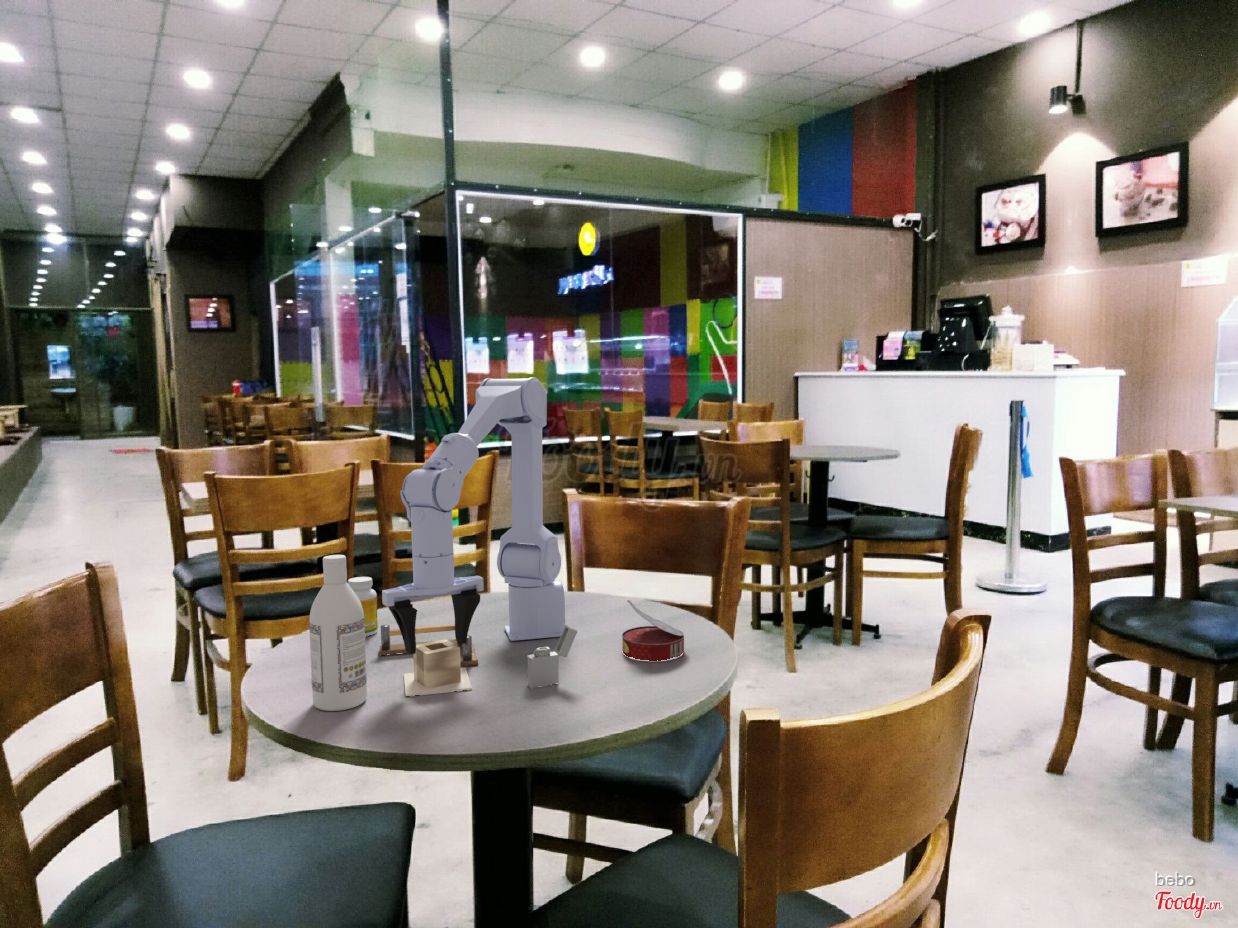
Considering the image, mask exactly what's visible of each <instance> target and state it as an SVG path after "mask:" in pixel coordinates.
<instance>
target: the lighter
mask: <svg viewBox="0 0 1238 928" xmlns="http://www.w3.org/2000/svg"><path fill="white" fill-rule="evenodd" d="M577 634H578V629H576V628H575V627H572V626H570V625H568V624H565V628H564V630H563V633H562V635H561V636H560V637H559V640H558V642H557V644H556V647H555V649H554V651H551V648H550V646H542V647H537V648H535V650H534V651H533V653H532V654H527V656H526V657H527V686H528V685H529V686H530V687H531V688H530V687H529V688H530V689H535V688H534V687H538V686H544V687H549V686H548V685H550V686H552V685H551V684H556V683H559V684H560V681H559V675H560V674H559V656H561V657H565V658H567V657H568V655H569V652H570V650H571V648H572V645H573V644H574V641H575V638H576V636H577ZM538 688H539V687H538Z"/></svg>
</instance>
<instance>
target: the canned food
mask: <svg viewBox="0 0 1238 928" xmlns="http://www.w3.org/2000/svg"><path fill="white" fill-rule="evenodd" d="M627 603H628V604H629V605H630V606H631V607H632V608H633V610H634V611H635V612H636V613H637V614H638V615H639V616H640V617H642V618H643V619H644V620H646V622H648V623H650V624H651V625H647V626H646V625H645V626H637V627H632V628H629V629H627V630H624V631H623V632H622V635H621V637H622V640H621V641H622V644H621V645H622V648H621V649H622V651H623V653H624V654H625V655H626V656H628V657H633V658H635V659H640V660H649V661H657V660H658V661H661V660H667V659H670V658H673V657H678V656H680V655H681V654H682V653H683V652H684V653H685V633H684V632H683V631H681V630H679V629H677V628H675V627H673V626H671V625H670V624H667V623H665V622H663V621H660V620H658V619H656V618H653V616H650V615H649V614H647V613H644V612H642V610H640V609H638V608H637V607H636V605H634V604H633V602H632V601H631V600H629V599H628V600H627ZM623 653H622V654H623Z"/></svg>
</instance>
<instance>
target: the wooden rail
mask: <svg viewBox="0 0 1238 928" xmlns="http://www.w3.org/2000/svg"><path fill="white" fill-rule="evenodd" d="M451 631H452V632H453V631H454V632H455V623H454V624H445V625H443V624H441V625H433V626H419V627H415V635H417V634H418V635H419V634H428V633H430V634H431V633H441V632H451ZM394 636H402V634H401V632H400V629H399V628H395V629H391V628H390V624H382V625H380V645H379V651H378V653H379V654H378V655H379V656H380V655H387V654H396V653H408V652H406V649H405V645H404V643H398V644H397V643H395V644H394V643H393V644H391V637H394ZM472 638H473V637H472V635H468V634H467V640H466V643H464V644H461V643H459V642H458V641H456V638H451V639H447V640H448V641H450V642H451V643H453V644H455V645H456V646H458V647H460V668H464V667H470V666H472V667H473V666H479V659H478V655H477V653H476V651H475V648H474V646H473V642H472V641H473V640H472ZM434 641H435V640H431V641H429V640H428V641H418V642H416V645H418V644H423V643H428V642H434ZM437 641H439V640H437ZM387 656H388V655H387Z"/></svg>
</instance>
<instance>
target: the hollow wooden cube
mask: <svg viewBox="0 0 1238 928" xmlns="http://www.w3.org/2000/svg"><path fill="white" fill-rule="evenodd" d="M448 640H449V639H446V638H445V639H440V640H439V641H438V640H433V641H434V642H428V643H423V644H418V645H416V654H412V655H413V673H414V680H416V681H417V682H419V683H420V684H421V685H423V686H424V687H425V688H427V689H431V688H435V687H439V686H444V685H448V684H453V683H457V682H461V669H460V668H461V667H460V647H458V646H456V645H455V644H453V643H451V642H450V641H448Z"/></svg>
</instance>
